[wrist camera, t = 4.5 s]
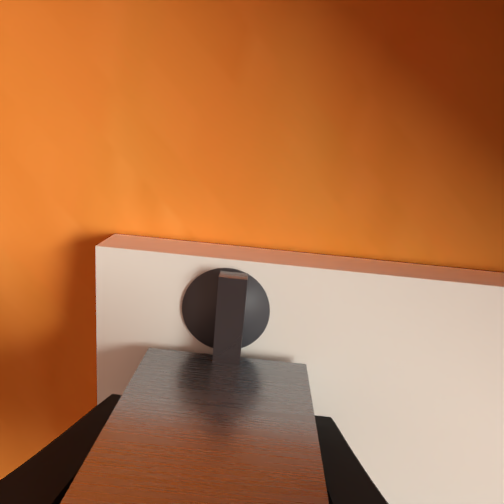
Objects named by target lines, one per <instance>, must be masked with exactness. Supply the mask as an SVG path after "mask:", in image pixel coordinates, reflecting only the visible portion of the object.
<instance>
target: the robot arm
mask: <svg viewBox="0 0 504 504" xmlns="http://www.w3.org/2000/svg"><path fill="white" fill-rule="evenodd" d="M121 396H122V395H119V394H111V395H110V396H109V397H107V398H106V399H105V400H103V401H102V402H101V403H100V404H98V405H97V406H96V407H95V408H93V409H92V410H91V411H90V412H89V413H87V414H86V415H85V416H84V417H82V418H81V419H80V420H79V421H77V422H76V423H75V424H74V425H73V426H71V427H70V428H69V429H68V430H66V431H65V432H64V433H63V434H61V435H60V436H59V437H57V438H56V439H55V440H54V441H52V442H51V443H50V444H48V445H47V446H46V447H45V448H43V449H42V450H41V451H39V452H38V453H37V454H36V455H34V456H33V457H32V458H30V459H29V460H28V461H26V462H25V463H24V464H22V465H21V466H20V467H18V468H17V469H15V470H14V471H13V472H11V473H10V474H8V475H7V476H6V477H4V478H3V479H1V480H0V504H60V503H61V501H62V499H63V497H64V496H65V494H66V492H67V490H68V489H69V487H70V485H71V483H72V482H73V480H74V478H75V476H76V475H77V473H78V471H79V469H80V468H81V466H82V464H83V462H84V461H85V459H86V457H87V455H88V454H89V452H90V450H91V448H92V447H93V445H94V443H95V441H96V440H97V438H98V436H99V434H100V433H101V431H102V429H103V427H104V426H105V424H106V422H107V420H108V419H109V417H110V415H111V413H112V412H113V410H114V408H115V406H116V405H117V403H118V401H119V399H120V398H121ZM315 422H316V428H317V434H318V440H319V446H320V452H321V458H322V464H323V470H324V476H325V483H326V489H327V495H328V501H329V504H388V502H387V501H386V500H385V498H384V497H383V495H382V494H381V493H380V491H379V490H378V488H377V487H376V485H375V484H374V483H373V481H372V480H371V478H370V477H369V475H368V474H367V472H366V471H365V469H364V468H363V466H362V465H361V463H360V462H359V460H358V459H357V457H356V456H355V454H354V453H353V451H352V449H351V448H350V446H349V445H348V443H347V441H346V440H345V438H344V437H343V435H342V433H341V432H340V430H339V428H338V427H337V425H336V423H335V422H334V421H333V419H332V418H331V417H325V416H316V415H315Z"/></svg>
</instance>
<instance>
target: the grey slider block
mask: <svg viewBox="0 0 504 504" xmlns="http://www.w3.org/2000/svg"><path fill="white" fill-rule="evenodd" d="M247 284H248V273H238V272H228V271H221V272H220V274H219V279H218V292H217V305H216V319H215V332H214V345H213V354H205V353H196V352H186V351H176V350H167V349H157V348H149V349H148V350H147V352H146V354H145V356H144V357H143V359H142V361H141V363H140V364H139V366H138V368H137V370H136V371H135V373H134V375H133V377H132V378H131V380H130V382H129V384H128V385H127V387H126V389H125V391H124V392H123V394H122V396H121V398H120V399H119V401H118V403H117V405H116V406H115V408H114V410H113V412H112V413H111V415H110V417H109V419H108V420H107V422H106V424H105V426H104V427H103V429H102V431H101V433H100V434H99V436H98V438H97V440H96V441H95V443H94V445H93V447H92V448H91V450H90V452H89V454H88V455H87V457H86V459H85V461H84V462H83V464H82V466H81V468H80V469H79V471H78V473H77V475H76V476H75V478H74V480H73V482H72V483H71V485H70V487H69V489H68V490H67V492H66V494H65V496H64V497H63V499H62V501H61V503H60V504H329V501H328V495H327V489H326V483H325V476H324V470H323V464H322V458H321V452H320V446H319V440H318V434H317V428H316V422H315V415H314V409H313V403H312V397H311V391H310V385H309V379H308V373H307V367H306V364H302V363H292V362H282V361H273V360H263V359H253V358H244V357H241V346H242V336H243V325H244V315H245V305H246V294H247Z"/></svg>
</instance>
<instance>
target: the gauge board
mask: <svg viewBox="0 0 504 504" xmlns="http://www.w3.org/2000/svg"><path fill="white" fill-rule="evenodd" d="M95 256H96V342H97V405H98V404H100V403H101V402H102V401H103V400H105V399H106V398H107V397H109V396H110V395H111V394H119V395H122V394H123V392H124V391H125V389H126V387H127V385H128V384H129V382H130V380H131V378H132V377H133V375H134V373H135V371H136V370H137V368H138V366H139V364H140V363H141V361H142V359H143V357H144V356H145V354H146V352H147V350H148V349H149V348H157V349H167V350H176V351H186V352H196V353H205V354H213V345H214V332H215V319H216V305H217V292H218V279H219V274H220V272H221V271H228V272H238V273H248V284H247V294H246V305H245V315H244V325H243V336H242V346H241V357H244V358H253V359H263V360H273V361H282V362H292V363H302V364H306V367H307V373H308V379H309V385H310V391H311V397H312V403H313V409H314V415H316V416H325V417H331V418H332V419H333V421H334V422H335V423H336V425H337V427H338V428H339V430H340V432H341V433H342V435H343V437H344V438H345V440H346V441H347V443H348V445H349V446H350V448H351V449H352V451H353V453H354V454H355V456H356V457H357V459H358V460H359V462H360V463H361V465H362V466H363V468H364V469H365V471H366V472H367V474H368V475H369V477H370V478H371V480H372V481H373V483H374V484H375V485H376V487H377V488H378V490H379V491H380V493H381V494H382V495H383V497H384V498H385V500H386V501H387V502H388V504H504V273H503V272H493V271H483V270H473V269H463V268H453V267H443V266H433V265H423V264H413V263H403V262H393V261H383V260H373V259H363V258H353V257H343V256H333V255H323V254H313V253H303V252H294V251H284V250H274V249H264V248H254V247H244V246H234V245H224V244H214V243H204V242H194V241H184V240H174V239H164V238H154V237H144V236H134V235H124V234H114V235H112V236H110V237H109V238H107V239H106V240H104V241H102V242H101V243H99V244H98V245H96V246H95Z"/></svg>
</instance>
